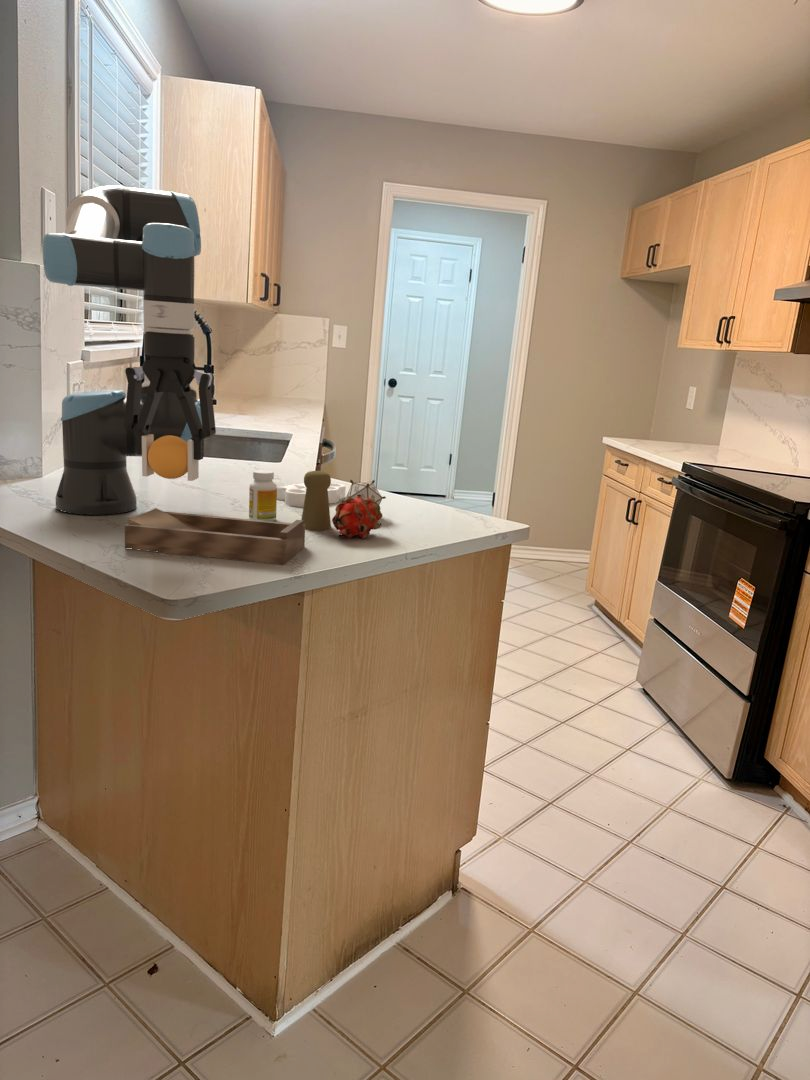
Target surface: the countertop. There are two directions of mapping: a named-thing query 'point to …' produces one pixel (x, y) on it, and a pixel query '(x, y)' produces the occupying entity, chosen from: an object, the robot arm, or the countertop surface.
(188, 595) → the countertop surface
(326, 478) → the cork
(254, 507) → the supplement bottle
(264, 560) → the wooden tray
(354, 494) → the geometric wire polyhedron
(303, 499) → the white scalloped tray
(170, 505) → the countertop surface
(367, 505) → the dragon fruit
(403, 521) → the countertop surface
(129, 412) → the robot arm
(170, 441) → the rubber ball
